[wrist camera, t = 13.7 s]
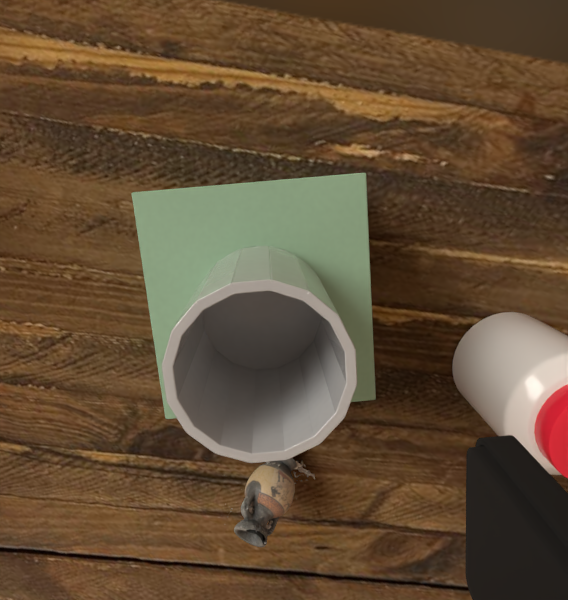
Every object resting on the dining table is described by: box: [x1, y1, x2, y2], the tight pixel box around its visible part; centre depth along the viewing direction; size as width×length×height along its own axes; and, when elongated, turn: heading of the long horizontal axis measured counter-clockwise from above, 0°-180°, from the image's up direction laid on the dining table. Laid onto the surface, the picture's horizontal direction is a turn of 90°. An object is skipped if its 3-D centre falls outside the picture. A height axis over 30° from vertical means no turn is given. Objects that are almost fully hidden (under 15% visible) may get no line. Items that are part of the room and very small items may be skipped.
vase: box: [224, 458, 318, 547], centre depth 36 cm, size 5×5×6 cm
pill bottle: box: [452, 312, 568, 478], centre depth 32 cm, size 8×8×11 cm
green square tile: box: [132, 173, 376, 419], centre depth 27 cm, size 12×12×1 cm
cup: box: [162, 246, 357, 463], centre depth 22 cm, size 7×7×9 cm
